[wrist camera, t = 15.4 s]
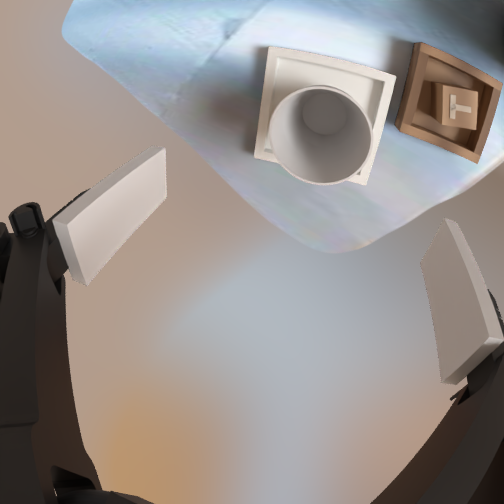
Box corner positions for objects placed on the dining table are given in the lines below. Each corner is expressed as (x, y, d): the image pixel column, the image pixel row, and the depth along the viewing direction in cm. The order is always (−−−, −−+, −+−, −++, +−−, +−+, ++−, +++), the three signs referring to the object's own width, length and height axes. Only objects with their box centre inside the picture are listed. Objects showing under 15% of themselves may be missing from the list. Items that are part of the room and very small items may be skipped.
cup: (272, 103, 29) (248, 122, 22) (334, 64, 25) (335, 67, 17) (315, 161, 32) (306, 201, 25) (376, 127, 28) (391, 157, 20)
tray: (257, 152, 34) (253, 157, 33) (272, 46, 26) (268, 46, 25) (364, 179, 33) (365, 185, 31) (393, 74, 24) (396, 76, 23)
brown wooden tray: (394, 124, 28) (399, 131, 25) (414, 43, 21) (421, 42, 19) (467, 154, 26) (477, 163, 24) (490, 80, 20) (502, 83, 18)
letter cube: (430, 116, 25) (442, 124, 22) (430, 81, 23) (443, 85, 20) (461, 120, 24) (476, 130, 21) (463, 86, 22) (478, 92, 18)
